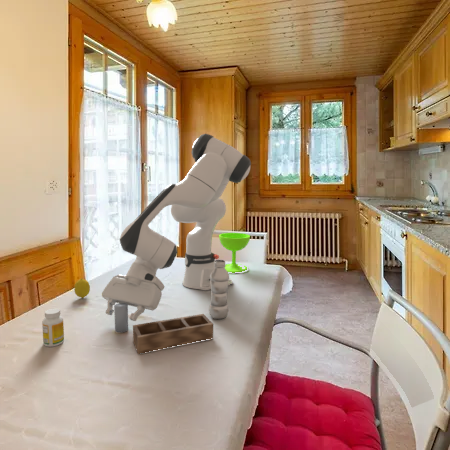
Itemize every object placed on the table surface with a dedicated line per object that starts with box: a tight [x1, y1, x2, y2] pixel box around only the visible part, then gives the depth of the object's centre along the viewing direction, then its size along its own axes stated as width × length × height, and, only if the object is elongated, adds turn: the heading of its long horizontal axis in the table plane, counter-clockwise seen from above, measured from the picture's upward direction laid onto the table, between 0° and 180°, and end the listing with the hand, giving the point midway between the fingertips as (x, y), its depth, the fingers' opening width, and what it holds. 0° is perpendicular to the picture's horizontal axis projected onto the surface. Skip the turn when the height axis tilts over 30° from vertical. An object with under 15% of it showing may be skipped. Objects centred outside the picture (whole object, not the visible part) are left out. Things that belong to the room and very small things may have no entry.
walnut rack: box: [132, 313, 214, 355], centre depth 100 cm, size 22×8×5 cm, turn 115°
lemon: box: [73, 277, 91, 299], centre depth 131 cm, size 6×6×8 cm
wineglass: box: [218, 232, 251, 273], centre depth 175 cm, size 16×16×18 cm
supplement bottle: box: [41, 307, 65, 348], centre depth 97 cm, size 5×5×10 cm
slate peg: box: [113, 303, 129, 334], centre depth 106 cm, size 4×4×8 cm
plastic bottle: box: [208, 259, 230, 320], centre depth 116 cm, size 6×7×20 cm
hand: (120, 317), depth 105 cm, fingers open, 8 cm apart
